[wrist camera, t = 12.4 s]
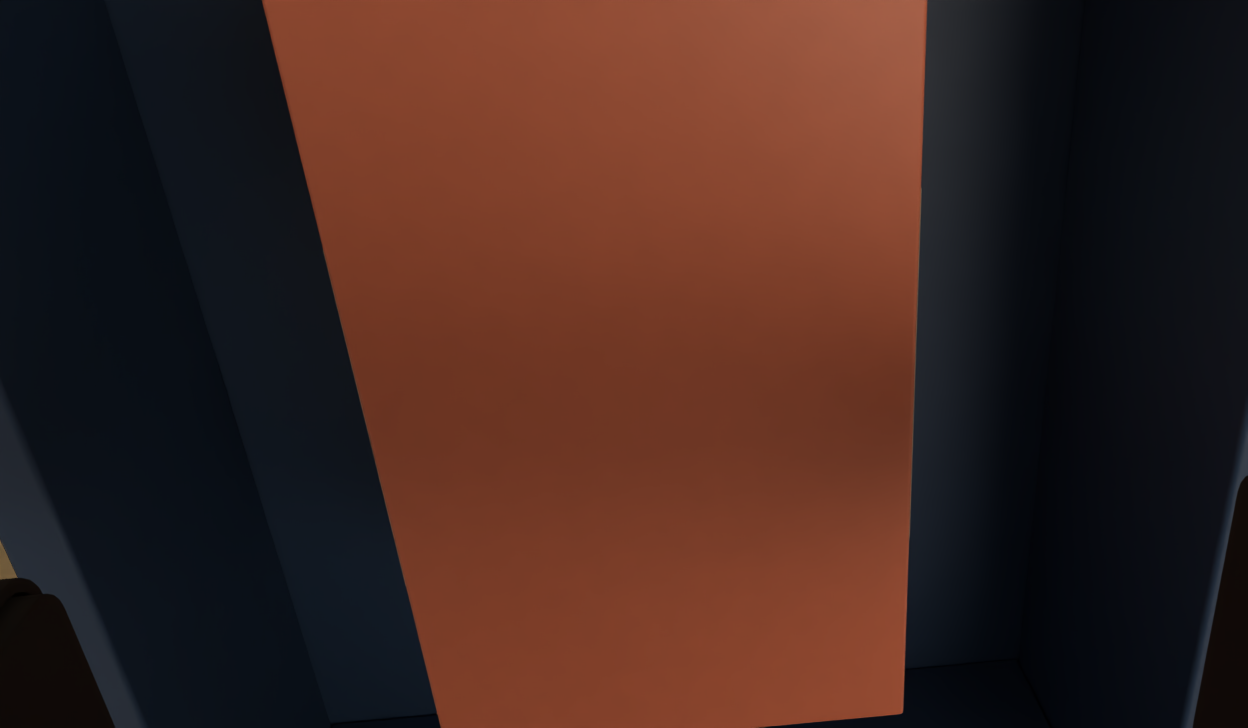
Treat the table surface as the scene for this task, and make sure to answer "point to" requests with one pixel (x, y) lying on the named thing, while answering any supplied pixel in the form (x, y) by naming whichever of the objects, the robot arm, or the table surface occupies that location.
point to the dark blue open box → (338, 438)
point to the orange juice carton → (630, 341)
